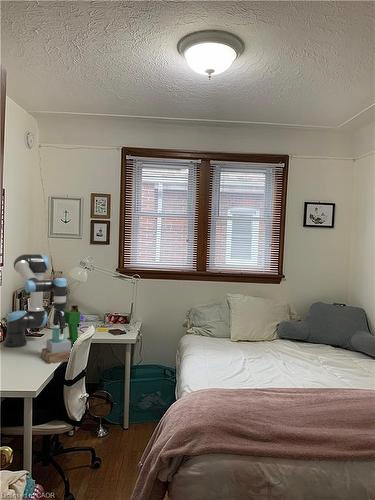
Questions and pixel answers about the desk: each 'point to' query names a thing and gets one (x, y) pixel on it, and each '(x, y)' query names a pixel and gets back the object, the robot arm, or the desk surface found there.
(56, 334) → the block
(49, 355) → the tower base
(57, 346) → the tower top
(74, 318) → the toy
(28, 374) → the desk surface
